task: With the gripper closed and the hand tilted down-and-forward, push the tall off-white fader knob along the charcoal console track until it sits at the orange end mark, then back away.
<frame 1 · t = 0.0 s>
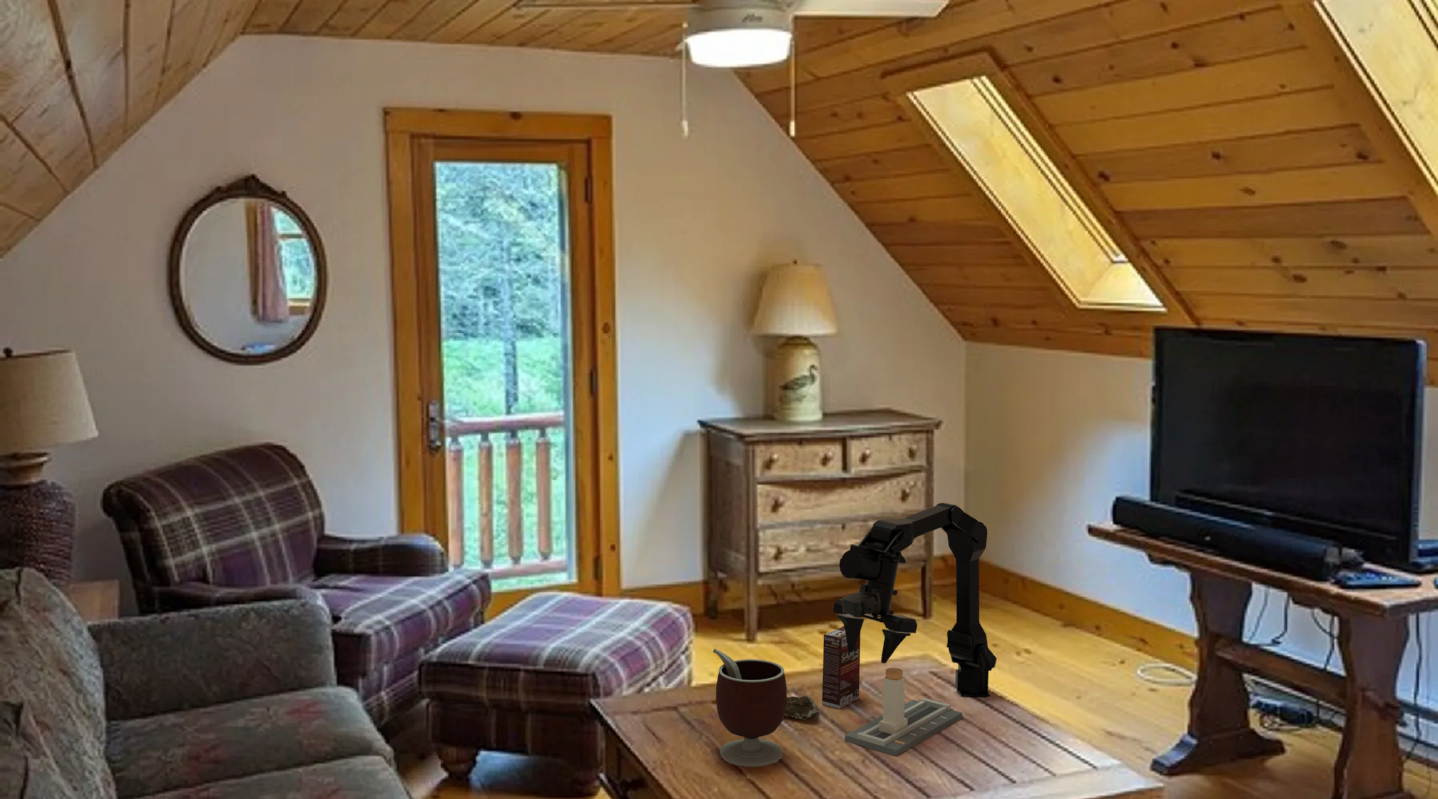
hand: (866, 657, 255), 15 cm above the table, tool pointing down, fingers open, 9 cm apart
console: (904, 729, 257), on the table
supplement box: (841, 702, 273), on the table
mate gourd: (747, 754, 245), on the table
rock sample: (798, 716, 265), on the table
fader knob: (893, 700, 253), point 7 cm above the table, slide at 13.8 cm
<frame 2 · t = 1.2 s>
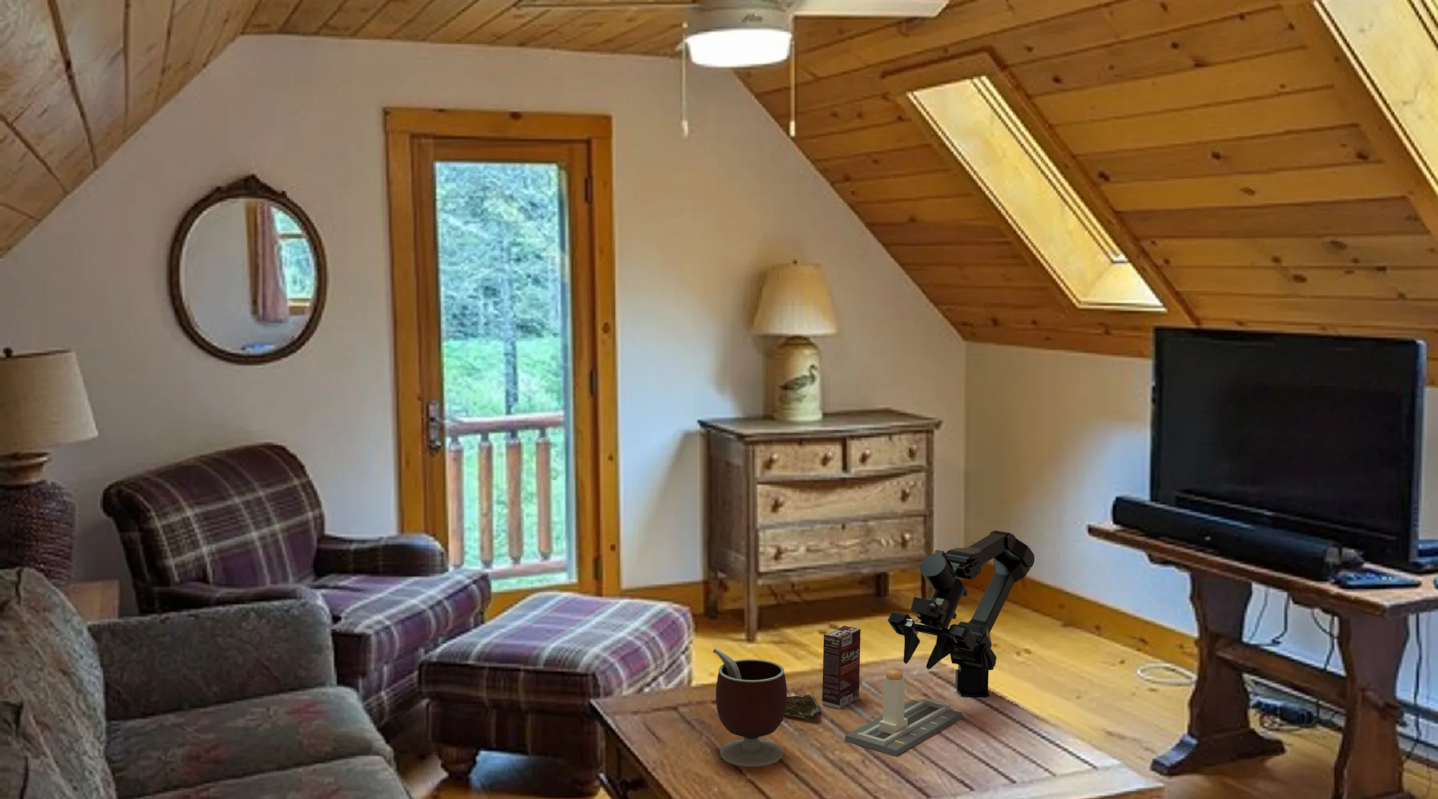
hand: (916, 665, 259), 13 cm above the table, tool tilted 45°, fingers open, 5 cm apart
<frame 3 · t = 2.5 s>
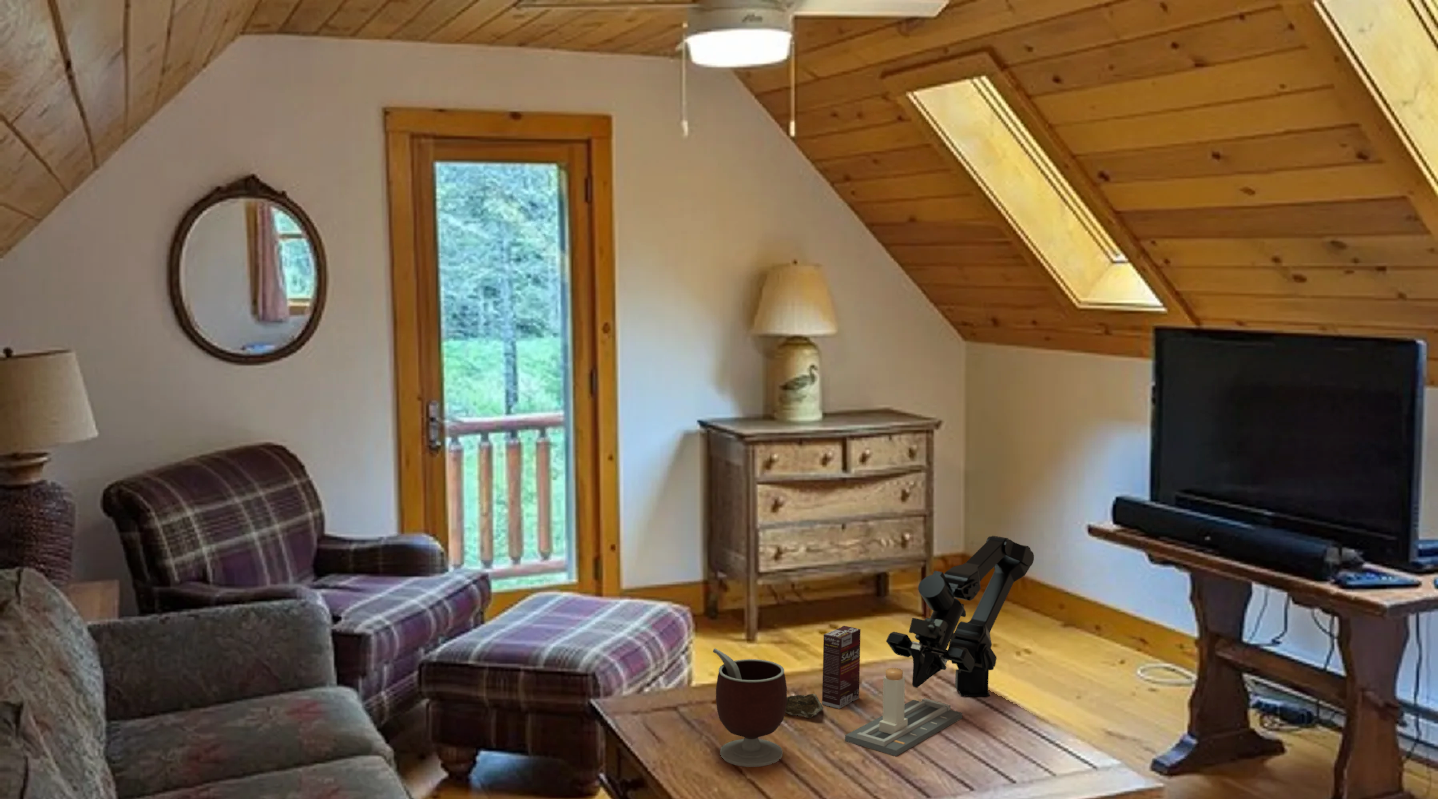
hand: (914, 686, 259), 8 cm above the table, tool tilted 45°, fingers closed
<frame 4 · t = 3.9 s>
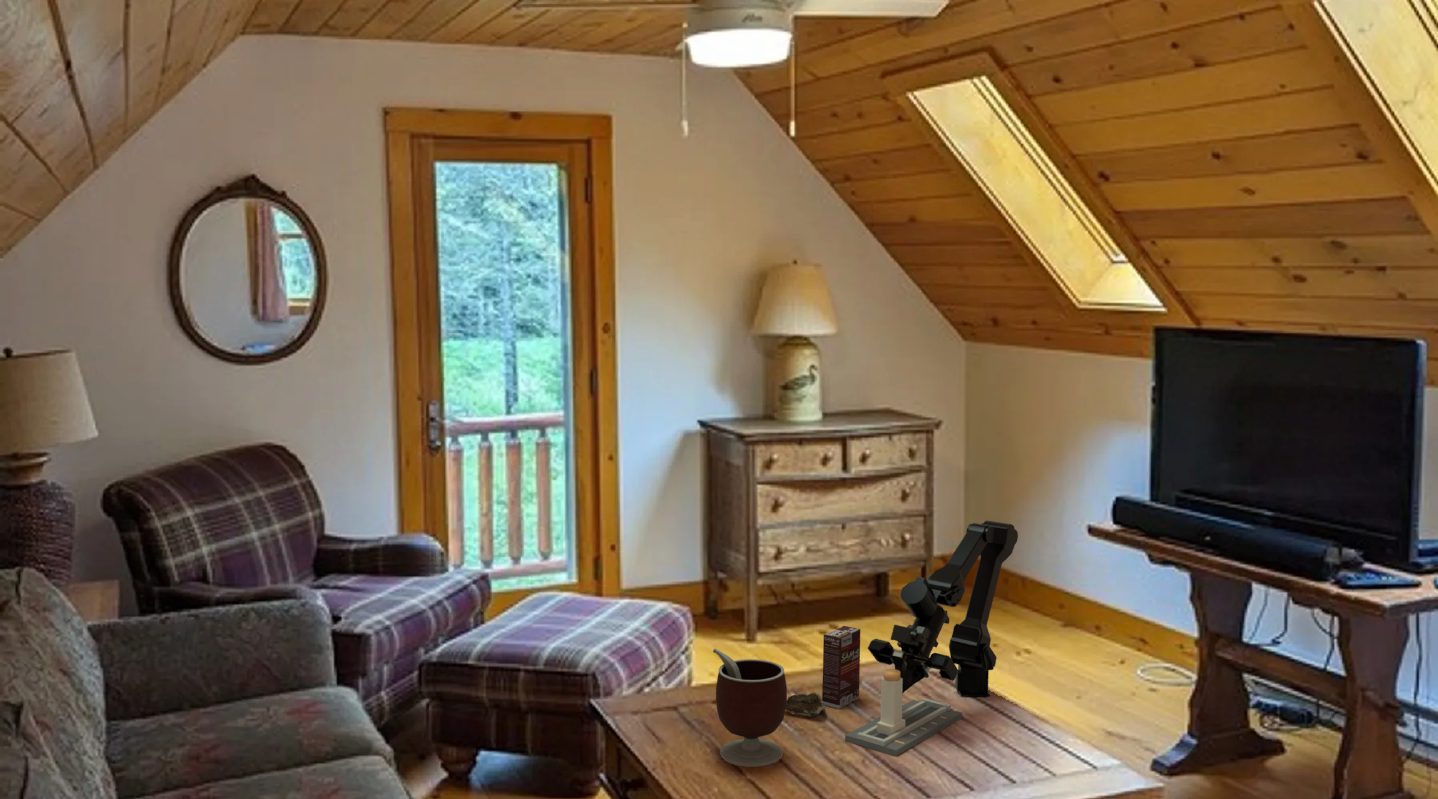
hand: (896, 694, 254), 8 cm above the table, tool tilted 45°, fingers closed, pressing on fader knob
fader knob: (891, 701, 252), point 7 cm above the table, slide at 14.7 cm, touching gripper
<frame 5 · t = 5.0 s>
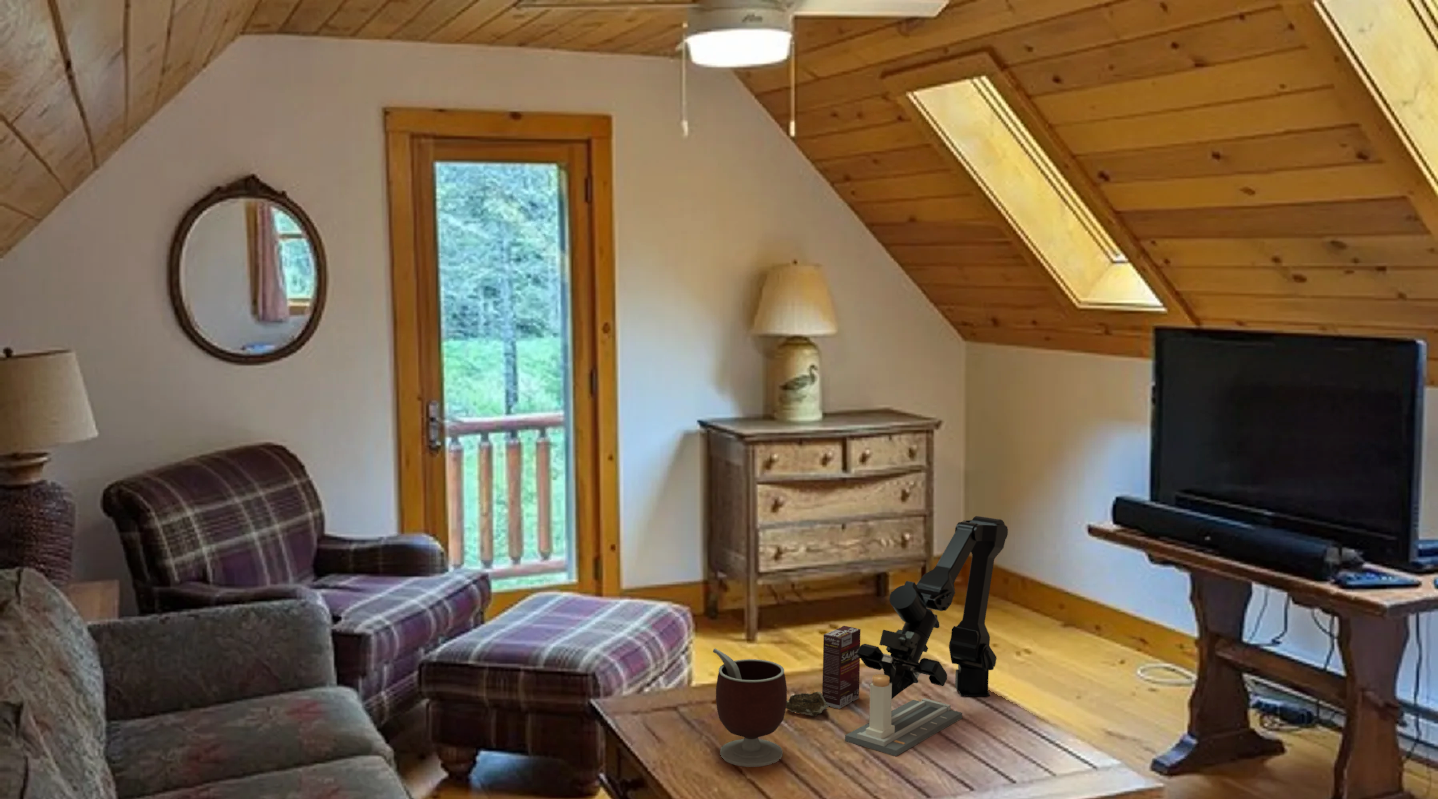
hand: (885, 700, 250), 8 cm above the table, tool tilted 45°, fingers closed, pressing on fader knob
fader knob: (880, 707, 249), point 8 cm above the table, slide at 18.7 cm, touching console, gripper
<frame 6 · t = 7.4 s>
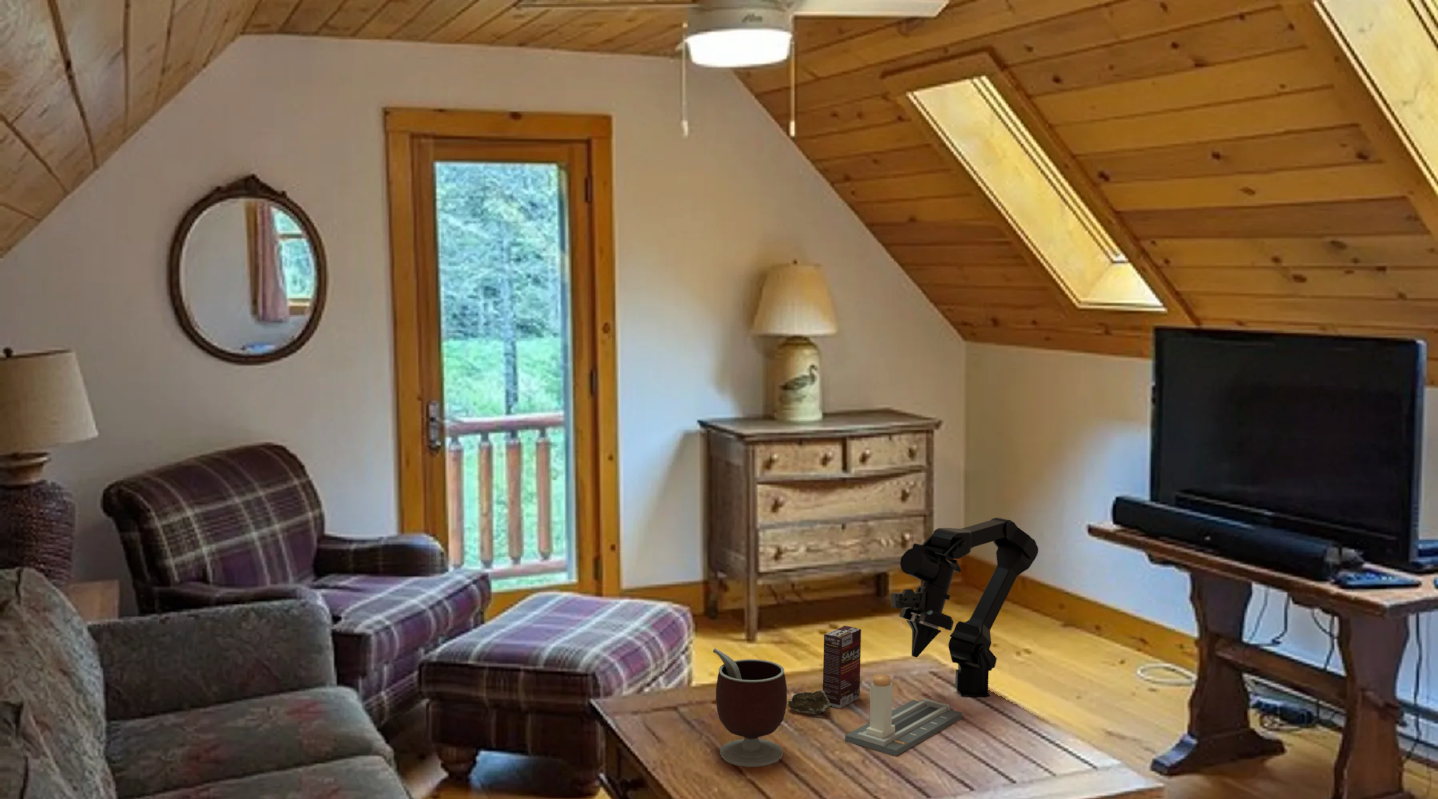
hand: (914, 656, 265), 12 cm above the table, tool tilted 25°, fingers closed
rock sample: (809, 711, 268), on the table
fader knob: (881, 706, 249), point 8 cm above the table, slide at 18.5 cm
everything else where it was.
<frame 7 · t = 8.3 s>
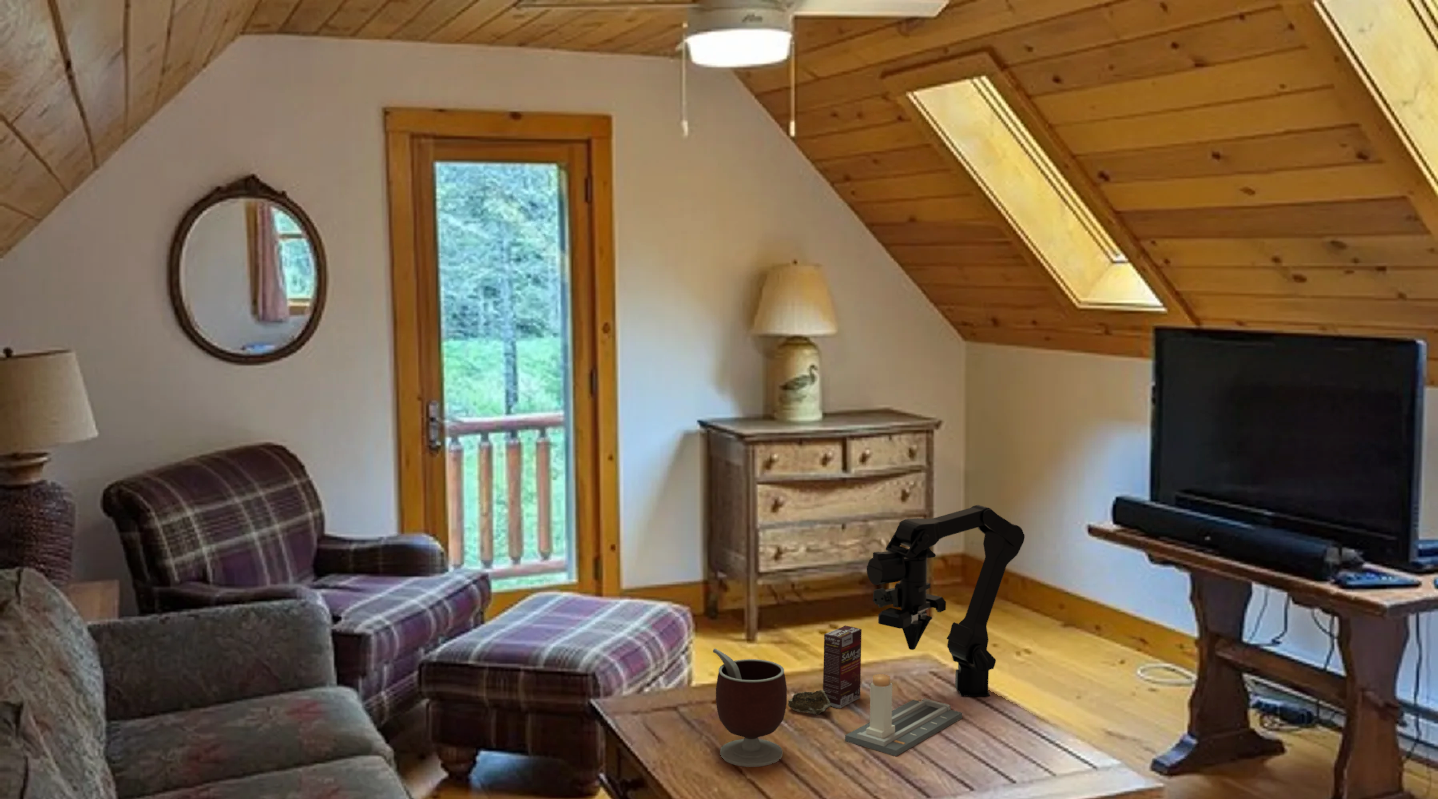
hand: (911, 649, 269), 13 cm above the table, tool pointing down, fingers closed
nothing on the table moved.
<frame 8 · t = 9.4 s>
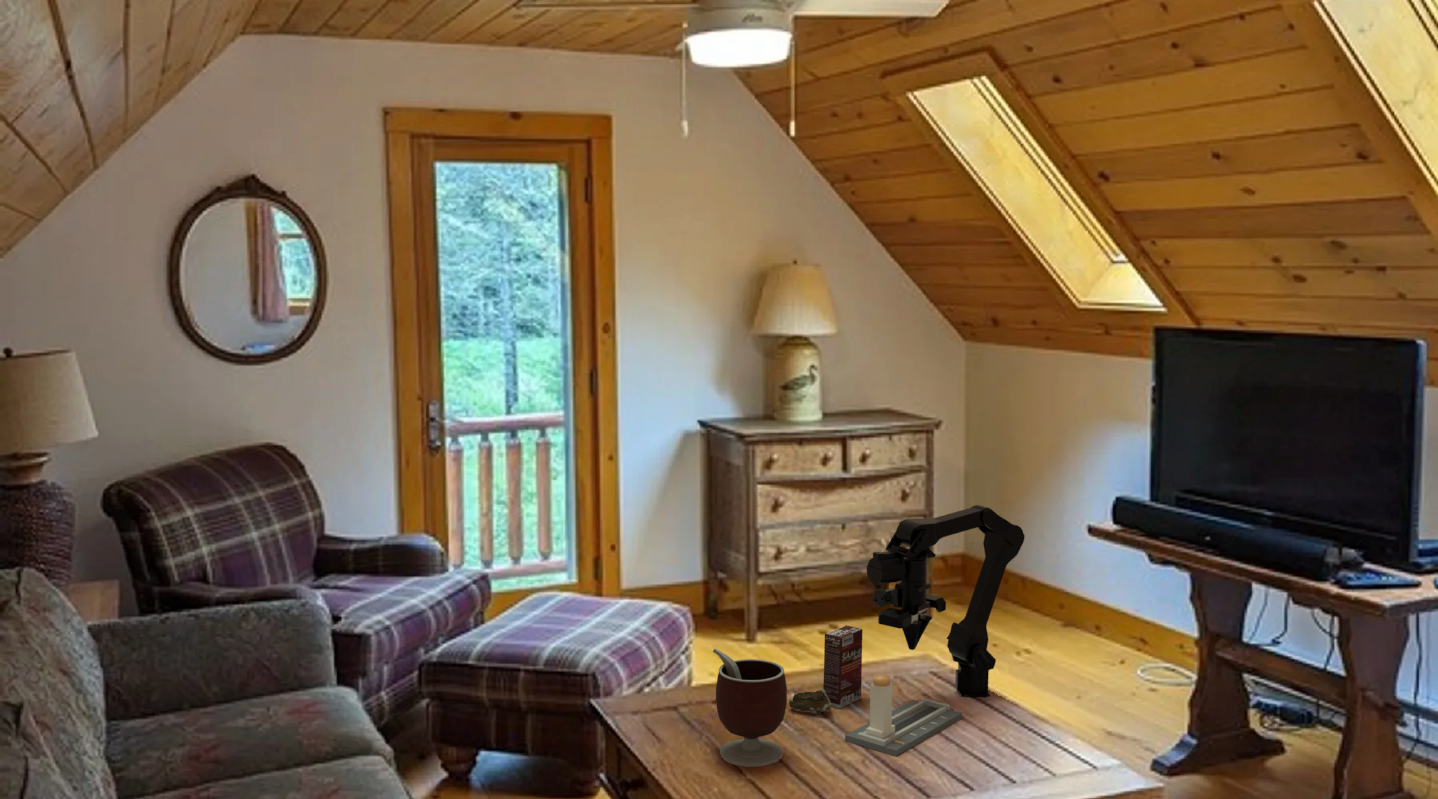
hand: (911, 649, 269), 12 cm above the table, tool pointing down, fingers closed
nothing on the table moved.
at the end: fader knob slide at 18.5 cm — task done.
